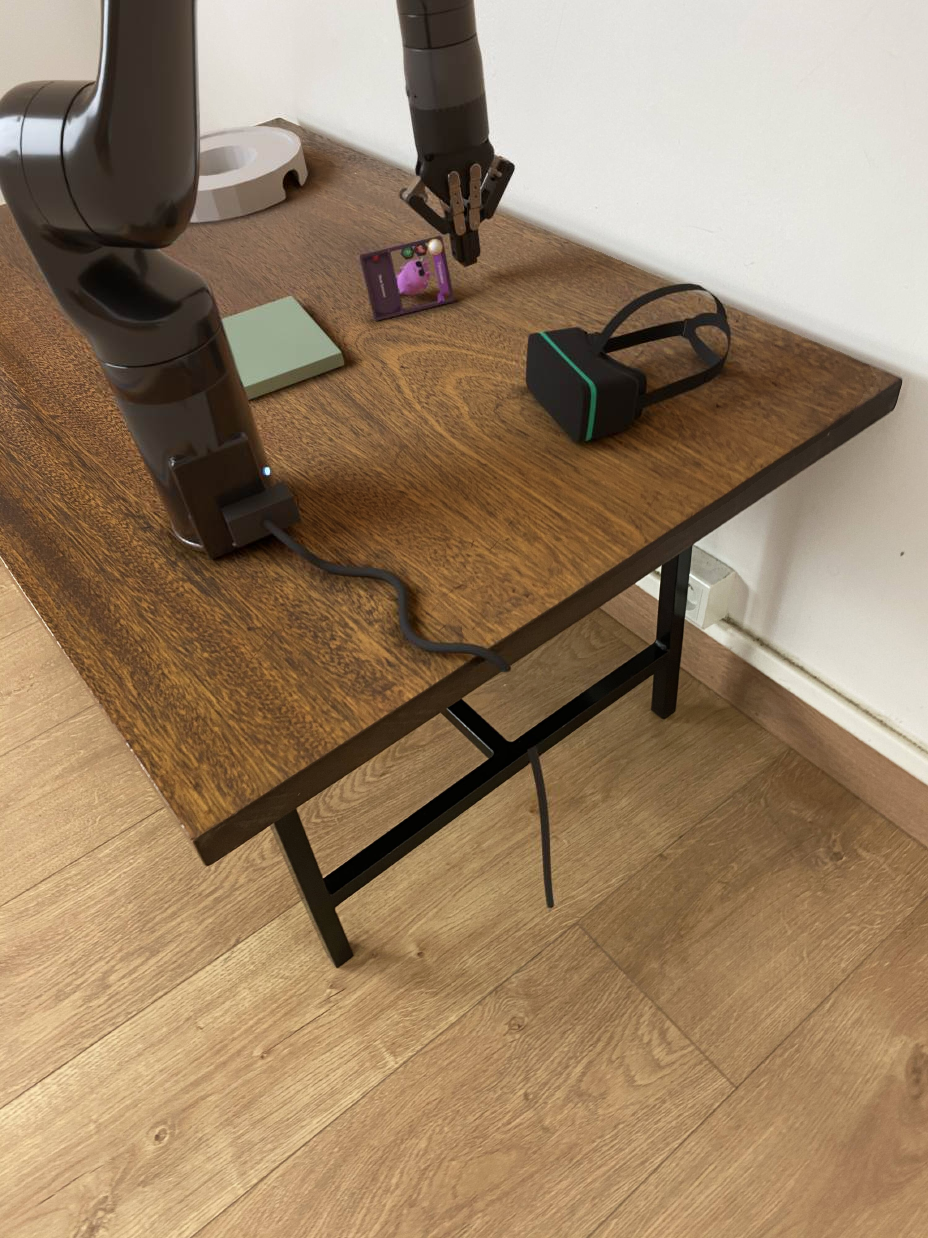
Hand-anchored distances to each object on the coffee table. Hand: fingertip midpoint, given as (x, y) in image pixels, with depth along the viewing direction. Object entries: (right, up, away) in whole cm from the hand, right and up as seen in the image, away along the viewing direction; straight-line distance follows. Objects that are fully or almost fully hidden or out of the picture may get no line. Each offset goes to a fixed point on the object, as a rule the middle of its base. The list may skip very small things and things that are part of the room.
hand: (467, 262), depth 100 cm
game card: (-6, -5, 0) cm, 8 cm away
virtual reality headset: (+15, -18, -16) cm, 29 cm away
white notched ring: (-34, +22, +29) cm, 50 cm away
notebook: (-21, -11, -4) cm, 24 cm away
